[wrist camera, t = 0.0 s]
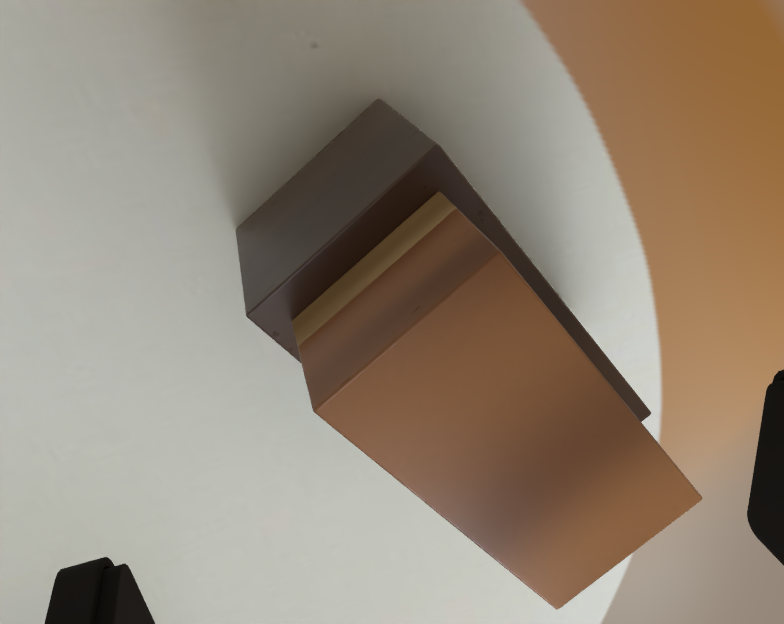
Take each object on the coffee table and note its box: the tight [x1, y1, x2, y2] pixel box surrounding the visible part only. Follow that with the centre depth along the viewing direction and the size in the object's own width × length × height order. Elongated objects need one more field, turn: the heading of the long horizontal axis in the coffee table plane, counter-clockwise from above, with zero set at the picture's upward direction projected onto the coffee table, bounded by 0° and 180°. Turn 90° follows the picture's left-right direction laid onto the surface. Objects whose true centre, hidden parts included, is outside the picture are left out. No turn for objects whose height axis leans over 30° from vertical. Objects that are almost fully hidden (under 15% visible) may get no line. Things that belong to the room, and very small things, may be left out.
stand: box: [236, 98, 651, 422], centre depth 25 cm, size 13×7×7 cm, turn 39°
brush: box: [292, 192, 702, 609], centre depth 20 cm, size 11×6×4 cm, turn 39°
